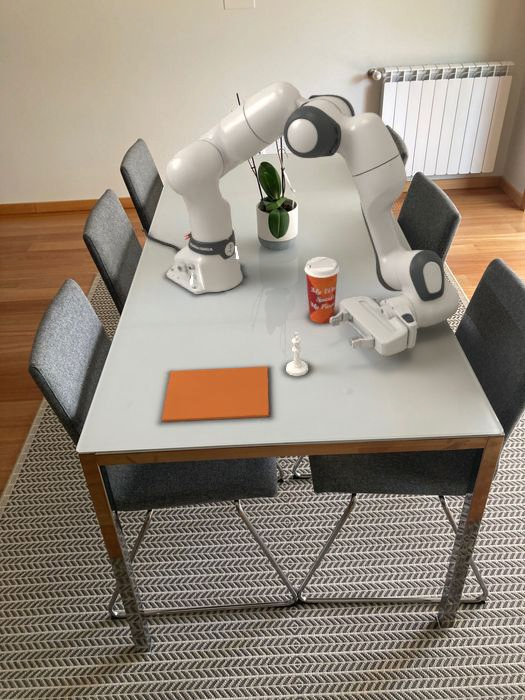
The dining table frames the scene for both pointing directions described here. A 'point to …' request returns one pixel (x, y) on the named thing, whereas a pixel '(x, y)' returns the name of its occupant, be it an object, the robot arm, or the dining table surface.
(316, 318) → the coffee cup
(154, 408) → the dining table surface
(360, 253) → the dining table surface
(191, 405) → the cloth mat
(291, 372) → the chess piece
